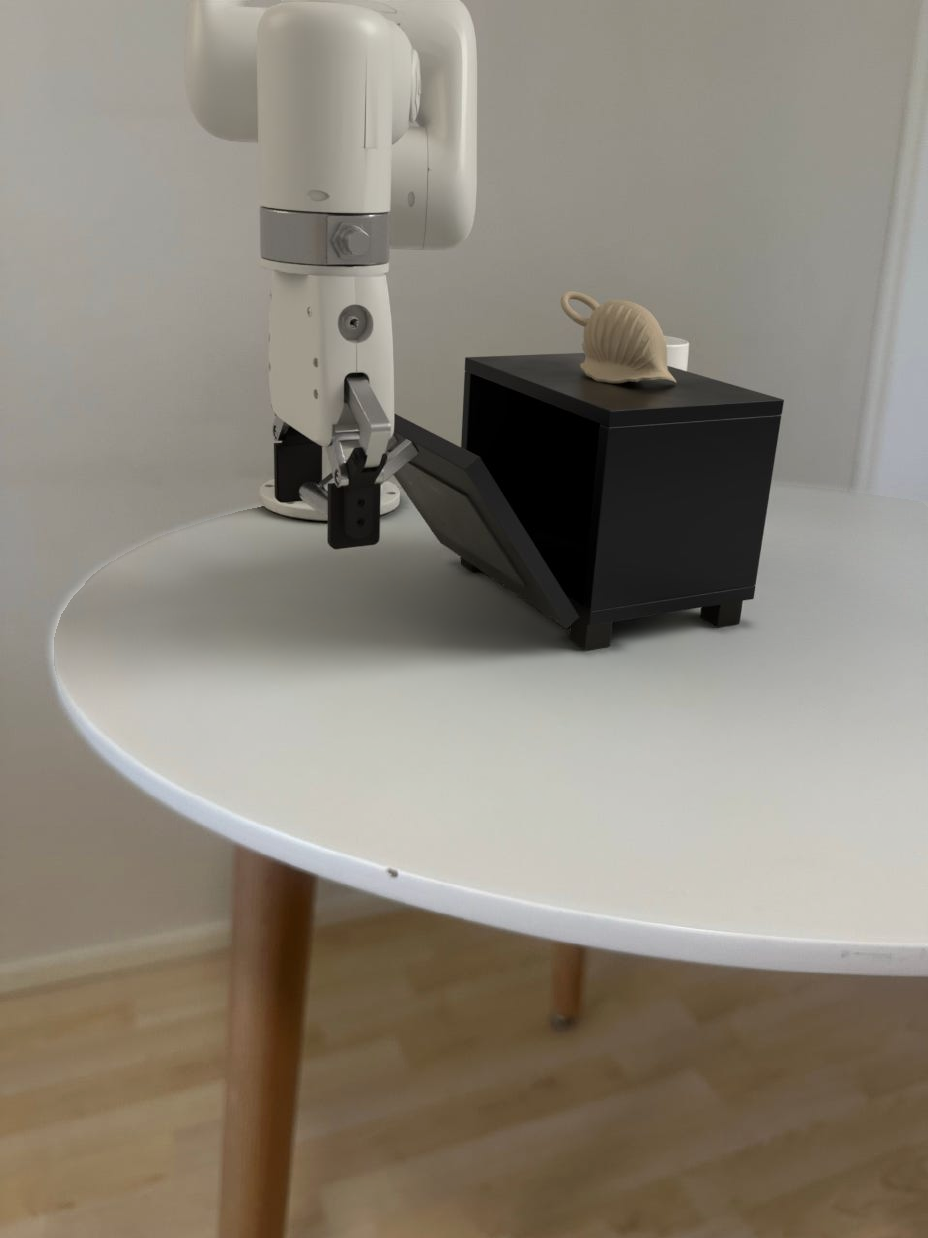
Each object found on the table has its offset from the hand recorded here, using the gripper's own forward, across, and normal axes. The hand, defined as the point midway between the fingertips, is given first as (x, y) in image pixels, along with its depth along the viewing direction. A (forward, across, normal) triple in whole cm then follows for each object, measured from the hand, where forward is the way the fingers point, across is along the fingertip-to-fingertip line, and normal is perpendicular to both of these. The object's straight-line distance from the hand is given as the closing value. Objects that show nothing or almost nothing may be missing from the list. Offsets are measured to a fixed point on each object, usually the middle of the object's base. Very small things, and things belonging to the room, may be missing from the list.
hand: (324, 521), depth 74 cm
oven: (+8, 0, -21) cm, 22 cm away
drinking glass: (+8, +20, -39) cm, 44 cm away
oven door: (+7, 0, -10) cm, 13 cm away
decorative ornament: (-8, 0, -21) cm, 23 cm away
